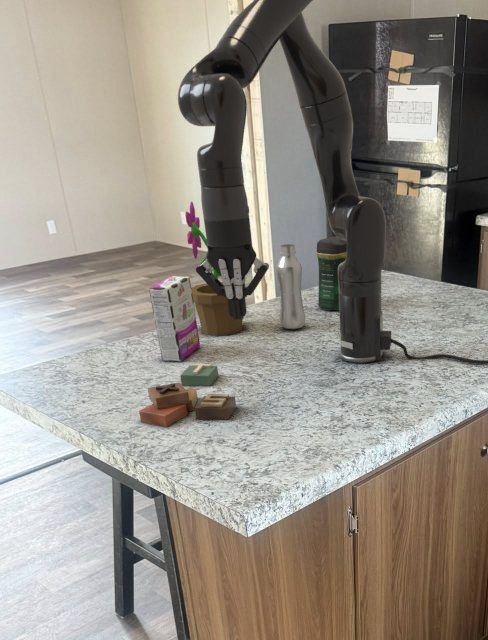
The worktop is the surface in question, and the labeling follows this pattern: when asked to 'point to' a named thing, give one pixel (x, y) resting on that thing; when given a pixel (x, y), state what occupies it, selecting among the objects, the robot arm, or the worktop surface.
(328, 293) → the coffee jar
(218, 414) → the letter S
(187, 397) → the letter pile
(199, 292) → the flowerpot
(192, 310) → the candy bar box
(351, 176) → the robot arm
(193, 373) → the letter T
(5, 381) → the worktop surface
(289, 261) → the silver metal bottle
